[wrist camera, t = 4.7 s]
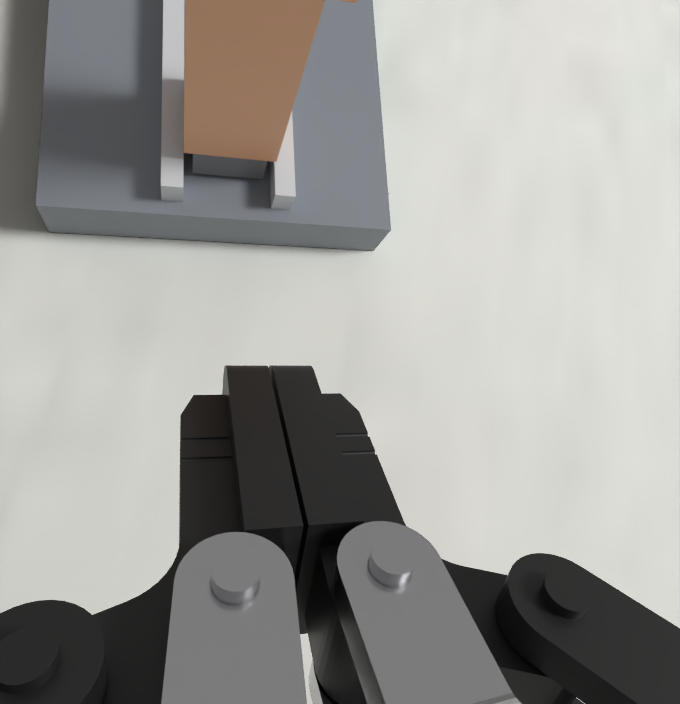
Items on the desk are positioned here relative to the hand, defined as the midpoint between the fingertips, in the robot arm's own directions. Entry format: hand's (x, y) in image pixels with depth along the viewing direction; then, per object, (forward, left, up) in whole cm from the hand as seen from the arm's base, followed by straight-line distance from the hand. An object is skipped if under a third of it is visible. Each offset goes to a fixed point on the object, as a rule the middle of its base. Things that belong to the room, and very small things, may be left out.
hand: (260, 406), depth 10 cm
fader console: (0, +16, -10) cm, 19 cm away
